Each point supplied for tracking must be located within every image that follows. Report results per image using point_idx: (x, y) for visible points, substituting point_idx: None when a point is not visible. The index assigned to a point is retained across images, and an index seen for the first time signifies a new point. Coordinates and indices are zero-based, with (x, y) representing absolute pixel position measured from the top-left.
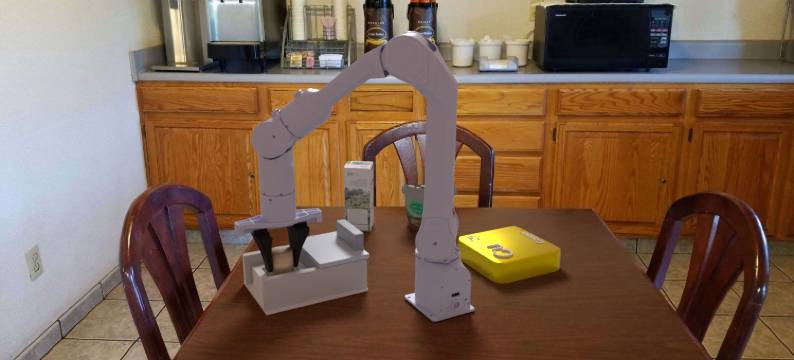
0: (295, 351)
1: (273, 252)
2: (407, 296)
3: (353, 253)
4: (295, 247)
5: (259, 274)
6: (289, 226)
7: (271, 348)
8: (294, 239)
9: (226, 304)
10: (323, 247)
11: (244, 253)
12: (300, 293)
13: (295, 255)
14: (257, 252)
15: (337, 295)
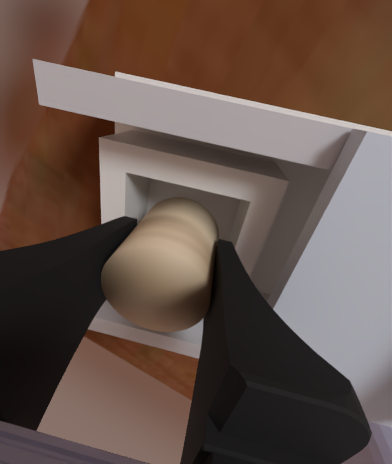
0: (120, 354)
1: (119, 285)
2: None
3: (376, 406)
4: (201, 351)
5: (104, 215)
6: (209, 414)
7: (94, 334)
8: (197, 386)
9: (51, 171)
10: (360, 323)
11: (45, 62)
12: None
13: (204, 317)
14: (112, 103)
15: None
